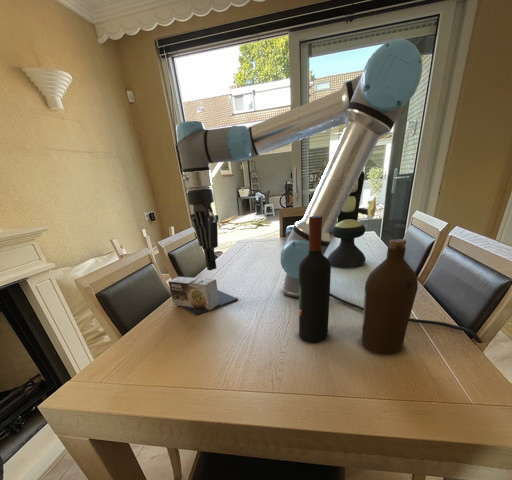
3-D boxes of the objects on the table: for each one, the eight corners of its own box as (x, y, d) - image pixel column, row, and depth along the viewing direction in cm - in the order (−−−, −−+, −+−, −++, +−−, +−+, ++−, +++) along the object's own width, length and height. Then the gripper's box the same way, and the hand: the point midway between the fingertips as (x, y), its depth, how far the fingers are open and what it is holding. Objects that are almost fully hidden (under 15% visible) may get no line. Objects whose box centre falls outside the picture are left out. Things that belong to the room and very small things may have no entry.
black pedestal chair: (324, 270, 126) (328, 146, 104) (322, 256, 145) (326, 149, 122) (369, 268, 123) (384, 140, 100) (362, 255, 141) (373, 144, 119)
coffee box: (216, 278, 98) (179, 275, 104) (205, 285, 93) (167, 280, 100) (220, 303, 102) (184, 298, 109) (209, 311, 97) (172, 305, 104)
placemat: (237, 299, 105) (237, 298, 105) (196, 315, 96) (196, 314, 96) (217, 291, 115) (217, 289, 114) (178, 304, 106) (177, 303, 106)
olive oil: (410, 341, 72) (433, 236, 59) (396, 361, 65) (418, 248, 53) (368, 330, 78) (381, 233, 66) (351, 347, 72) (361, 244, 59)
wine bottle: (310, 346, 74) (312, 220, 59) (293, 334, 80) (291, 217, 65) (333, 337, 77) (341, 215, 62) (315, 326, 83) (318, 212, 68)
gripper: (177, 190, 86) (192, 268, 98) (199, 189, 77) (212, 275, 89) (199, 187, 90) (211, 263, 102) (222, 187, 81) (232, 269, 93)
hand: (212, 269), depth 96 cm, fingers closed
